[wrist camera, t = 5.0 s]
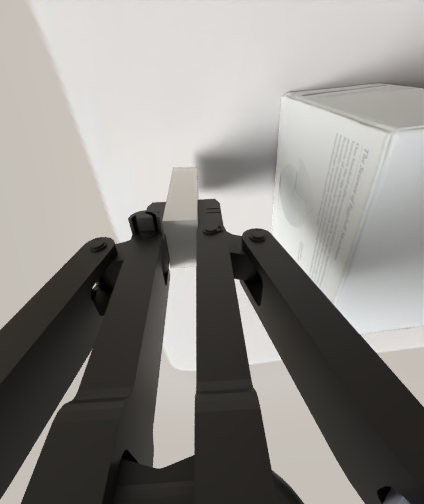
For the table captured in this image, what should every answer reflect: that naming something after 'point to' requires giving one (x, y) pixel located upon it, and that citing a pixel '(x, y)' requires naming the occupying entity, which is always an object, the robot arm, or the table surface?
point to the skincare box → (355, 199)
